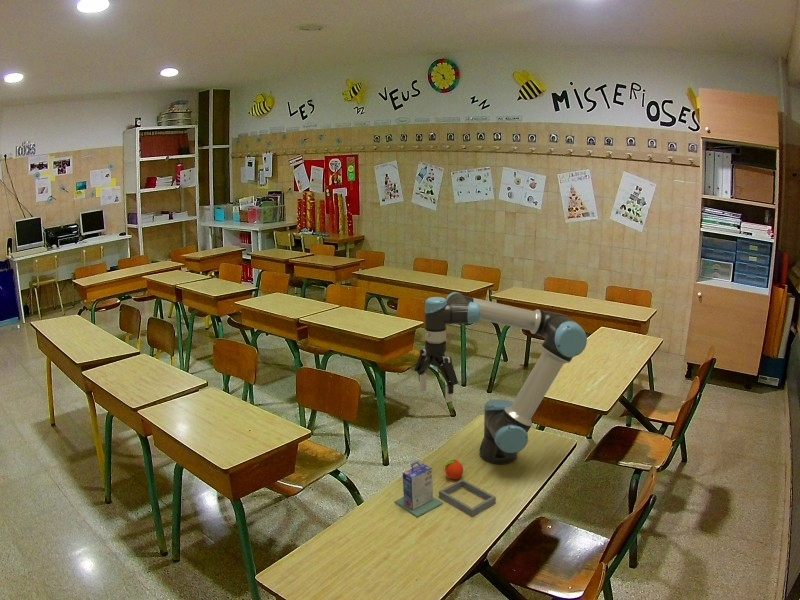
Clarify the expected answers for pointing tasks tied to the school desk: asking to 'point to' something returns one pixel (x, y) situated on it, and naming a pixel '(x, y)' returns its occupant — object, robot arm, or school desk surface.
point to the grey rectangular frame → (460, 505)
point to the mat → (420, 509)
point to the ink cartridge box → (417, 485)
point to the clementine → (453, 469)
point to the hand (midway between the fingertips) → (435, 396)
